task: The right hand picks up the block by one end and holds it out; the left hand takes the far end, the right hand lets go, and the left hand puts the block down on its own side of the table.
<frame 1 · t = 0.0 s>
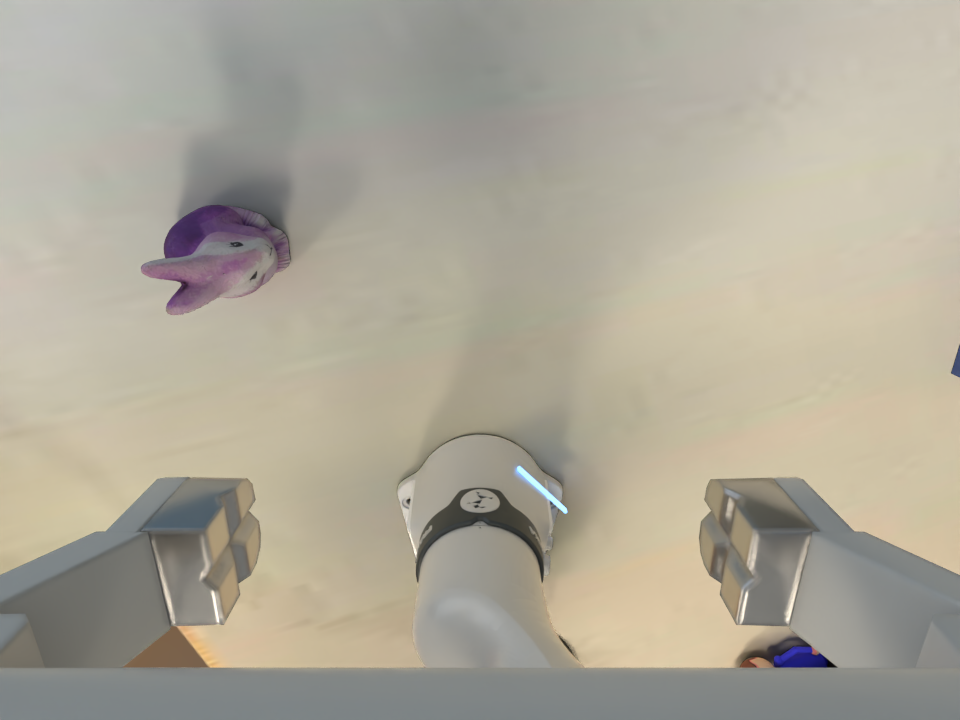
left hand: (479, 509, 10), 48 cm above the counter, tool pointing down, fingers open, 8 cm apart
figurine character: (790, 652, 75), on the counter
figurine: (245, 243, 56), on the counter
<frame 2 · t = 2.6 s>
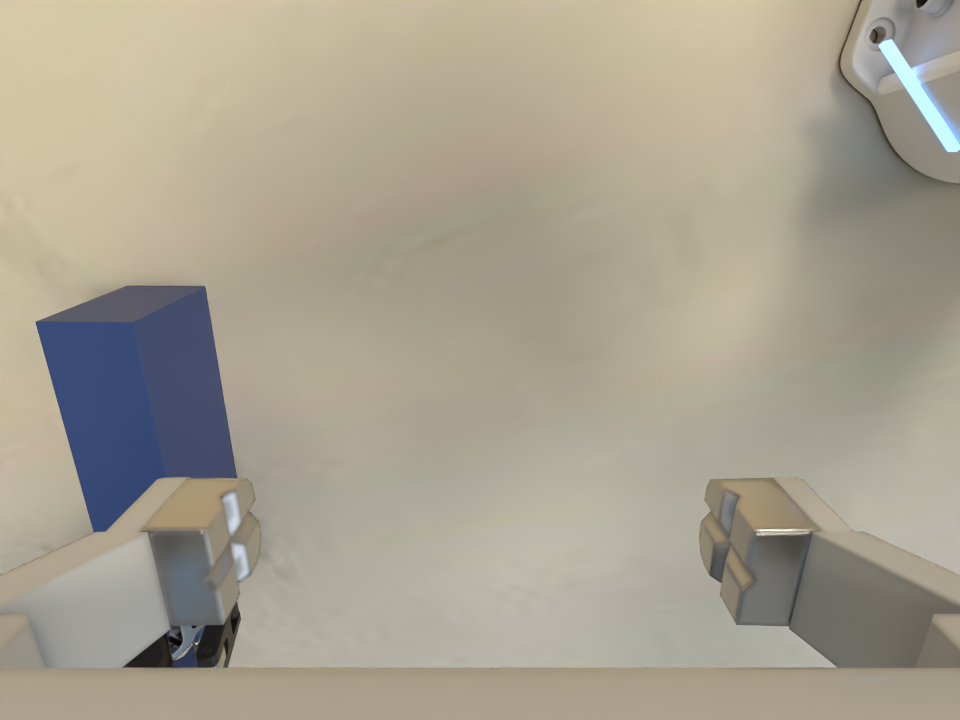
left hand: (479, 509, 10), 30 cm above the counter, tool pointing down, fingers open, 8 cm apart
block: (194, 435, 44), on the counter, touching right hand
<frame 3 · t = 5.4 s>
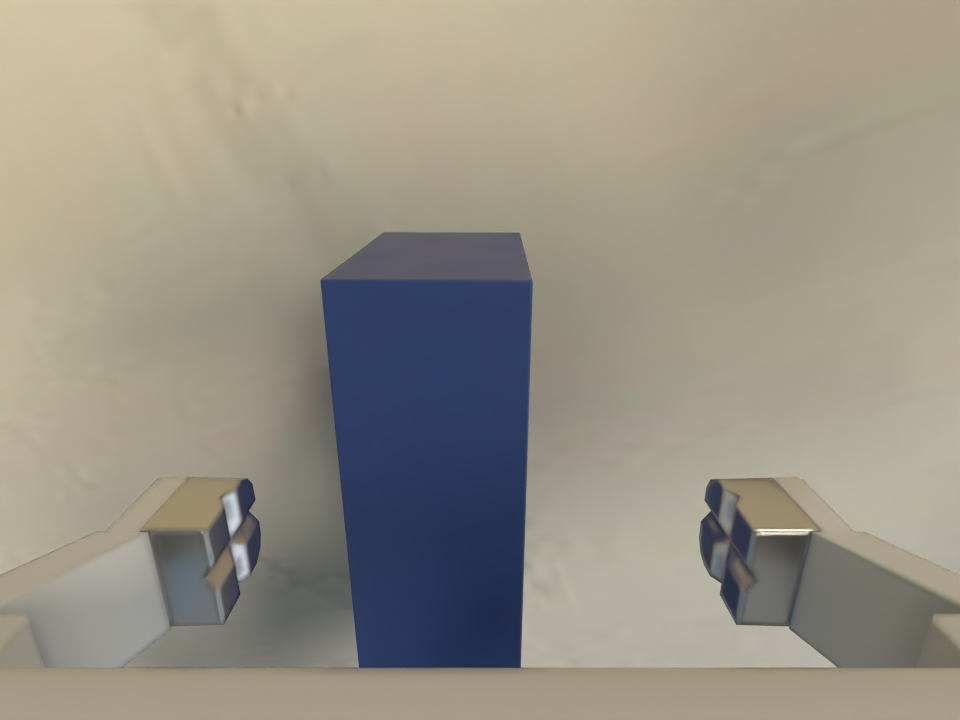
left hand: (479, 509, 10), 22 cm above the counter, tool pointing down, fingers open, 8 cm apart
block: (455, 484, 27), point 8 cm above the counter, touching right hand
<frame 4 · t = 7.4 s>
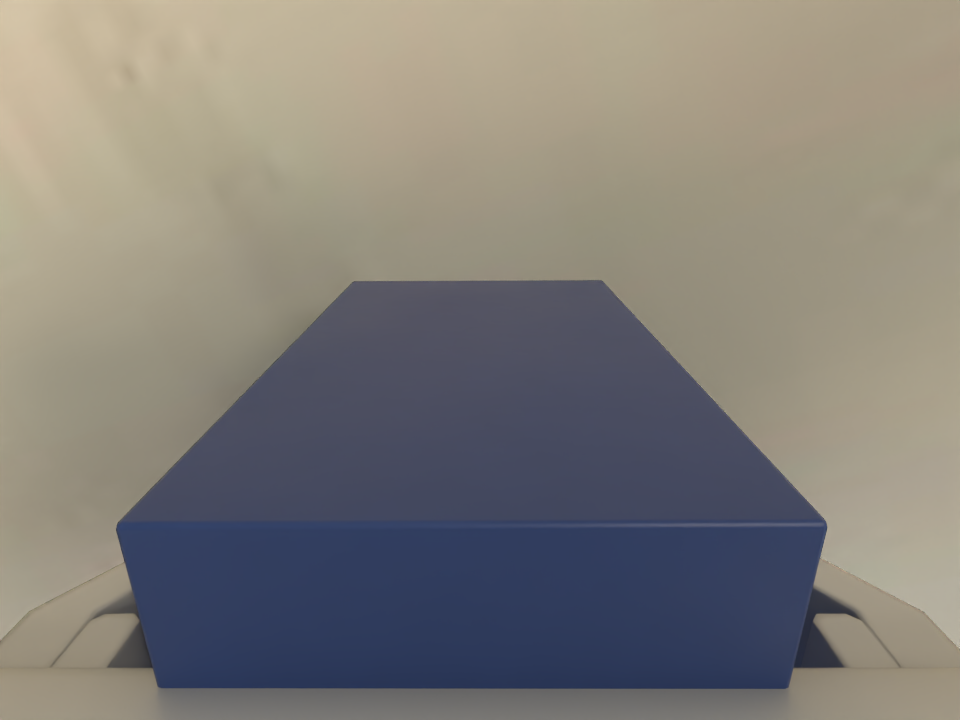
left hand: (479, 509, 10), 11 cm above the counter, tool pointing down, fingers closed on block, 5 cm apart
block: (479, 679, 17), point 8 cm above the counter, touching left hand, right hand
when the right hand's fingers open (12 cm above the counter, at t = 8.5 s): block moves 1 cm, held by the left hand.
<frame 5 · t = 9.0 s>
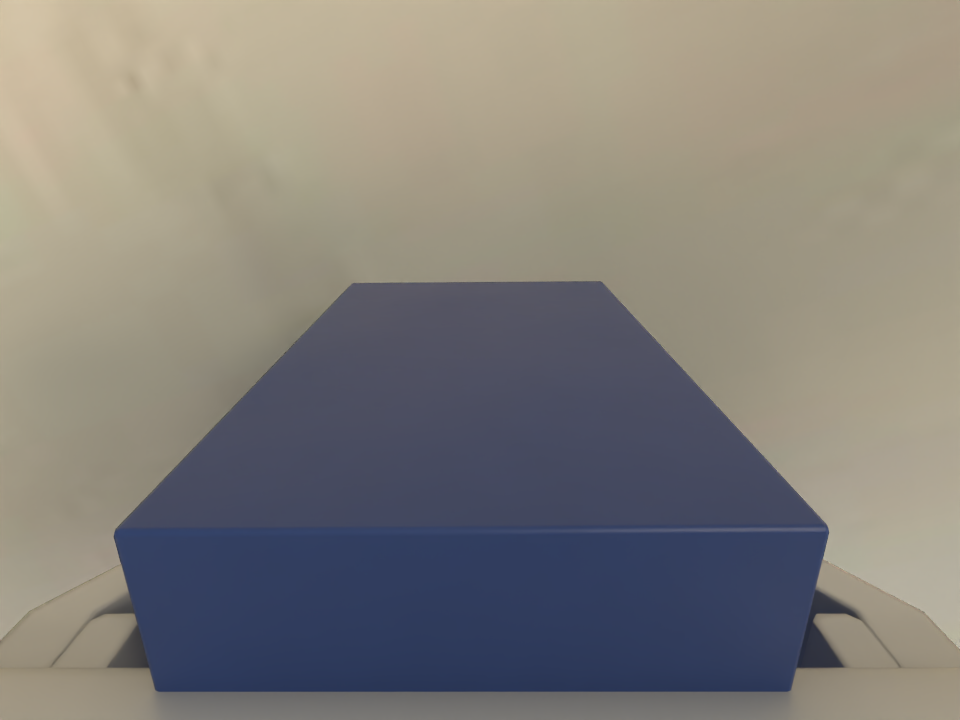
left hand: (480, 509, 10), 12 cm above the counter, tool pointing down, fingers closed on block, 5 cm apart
block: (480, 681, 16), point 9 cm above the counter, touching left hand
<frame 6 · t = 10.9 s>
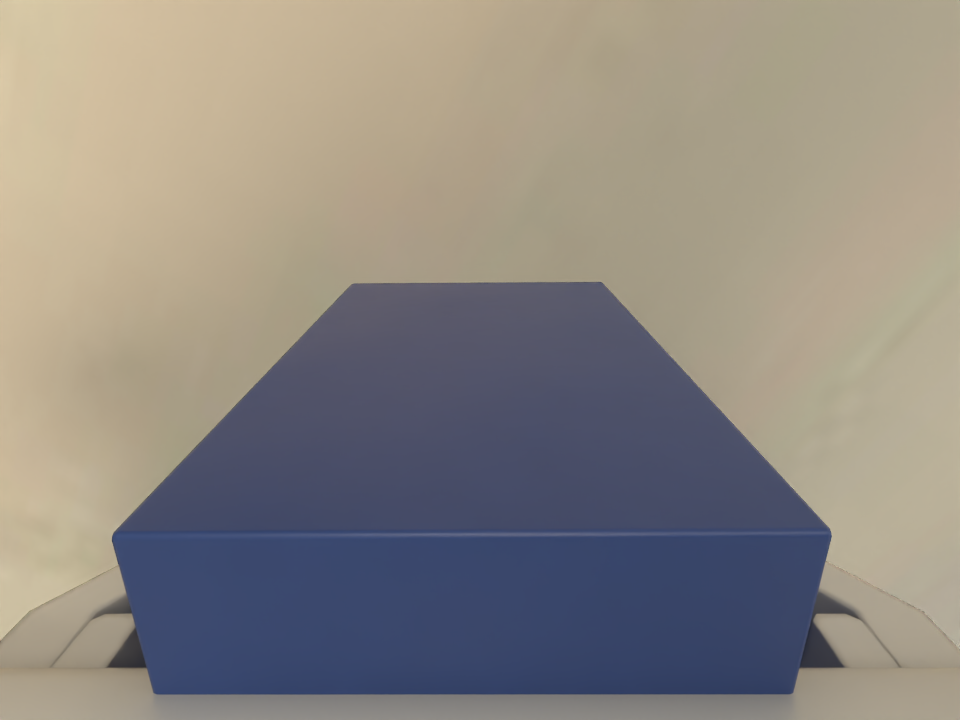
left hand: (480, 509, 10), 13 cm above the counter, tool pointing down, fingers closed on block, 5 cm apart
block: (480, 682, 16), point 10 cm above the counter, touching left hand
when the left hand's fingers open (4 cm above the counter, at t = 12.2 s): block stays where it is, on the counter.
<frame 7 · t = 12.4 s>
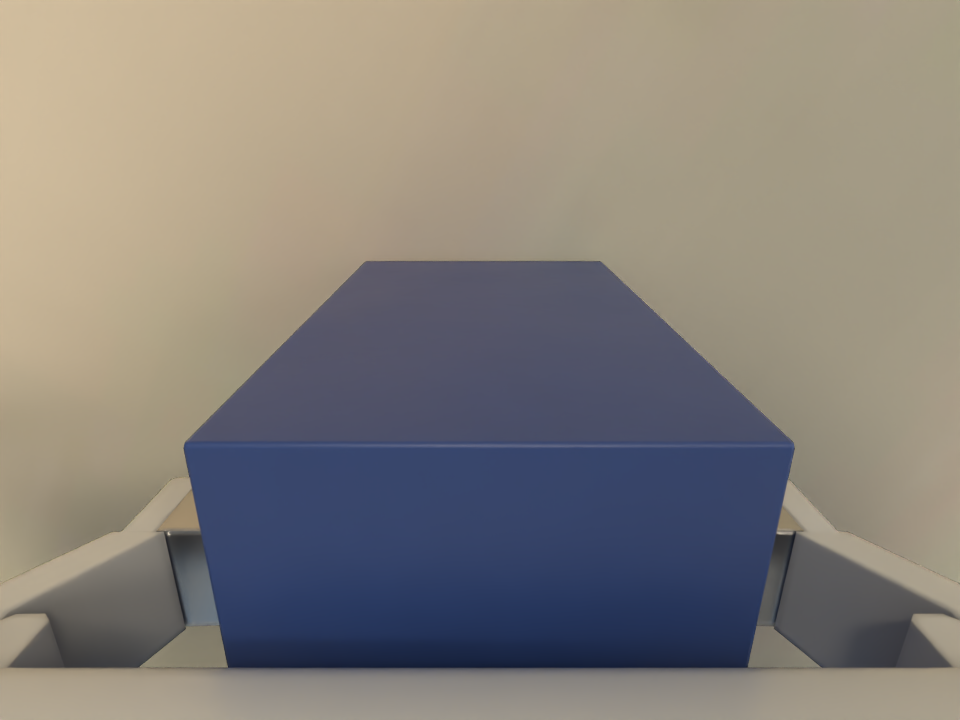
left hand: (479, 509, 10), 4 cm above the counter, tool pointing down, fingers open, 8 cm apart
block: (482, 646, 17), on the counter
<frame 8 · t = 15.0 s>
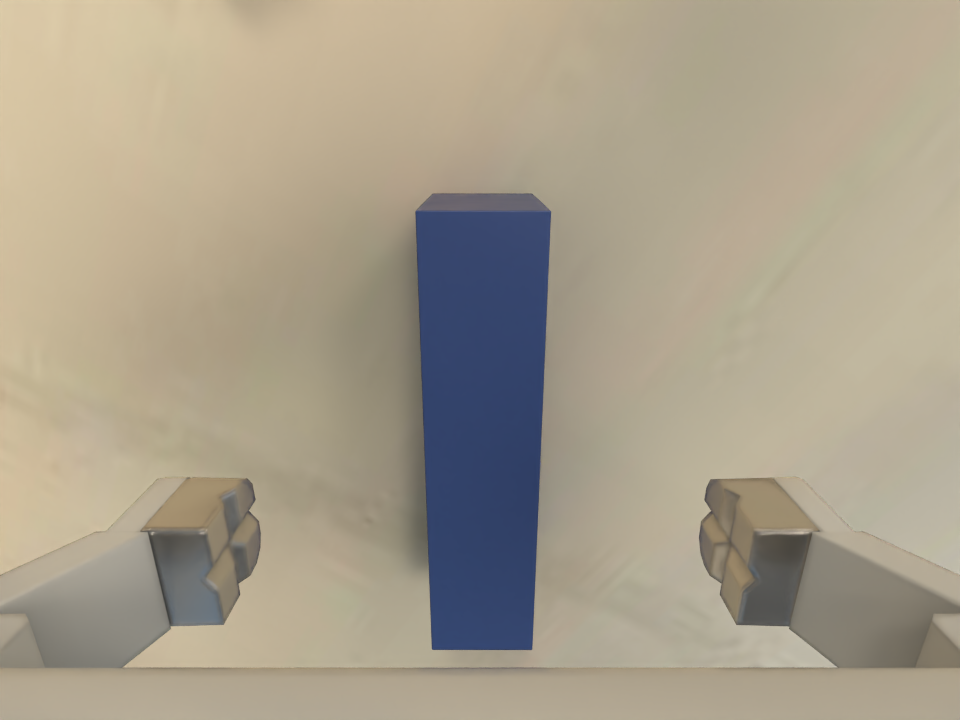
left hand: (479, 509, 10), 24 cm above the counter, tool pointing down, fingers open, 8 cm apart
block: (482, 390, 35), on the counter
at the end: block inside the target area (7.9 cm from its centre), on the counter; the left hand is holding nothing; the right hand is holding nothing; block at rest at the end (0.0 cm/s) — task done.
